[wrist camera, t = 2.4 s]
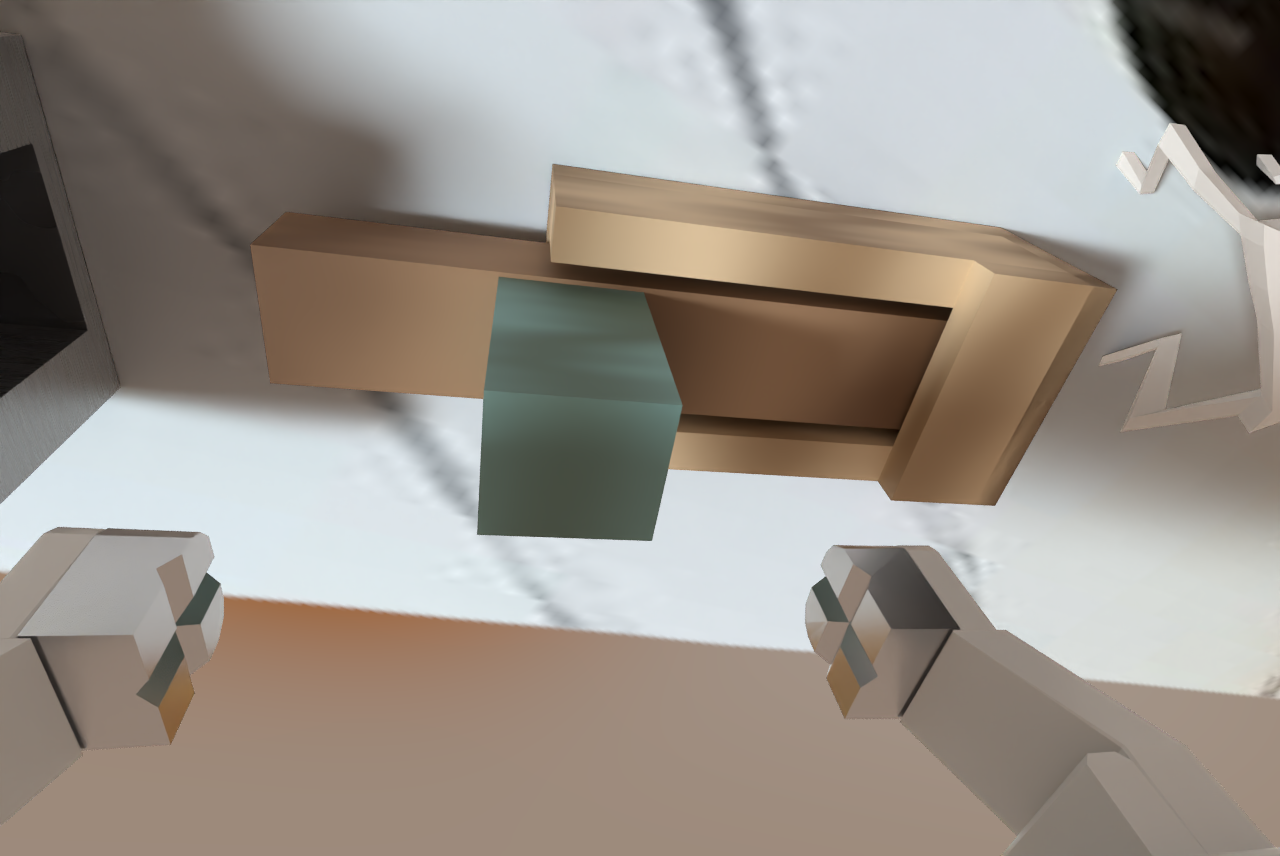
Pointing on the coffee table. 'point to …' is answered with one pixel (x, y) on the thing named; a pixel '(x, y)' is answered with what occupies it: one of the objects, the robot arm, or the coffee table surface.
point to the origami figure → (1275, 282)
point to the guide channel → (870, 268)
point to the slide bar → (573, 357)
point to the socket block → (40, 290)
